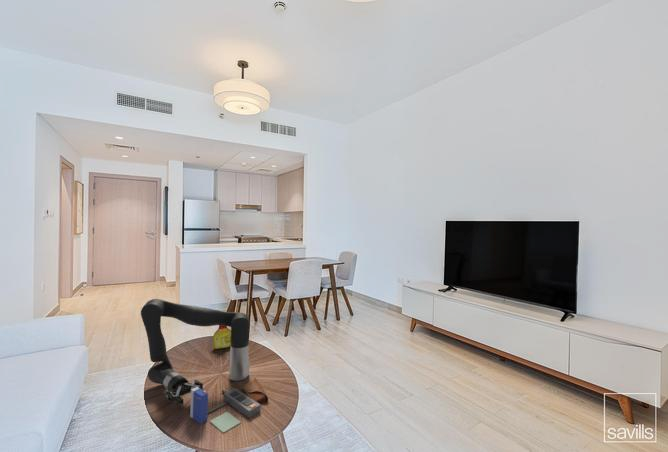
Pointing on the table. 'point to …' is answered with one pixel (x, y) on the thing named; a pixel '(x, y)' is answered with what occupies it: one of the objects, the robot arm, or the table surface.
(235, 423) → the mat
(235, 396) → the power strip
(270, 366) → the table surface
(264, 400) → the sunglasses case
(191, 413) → the walkman
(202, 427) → the table surface
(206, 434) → the table surface
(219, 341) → the bottle
